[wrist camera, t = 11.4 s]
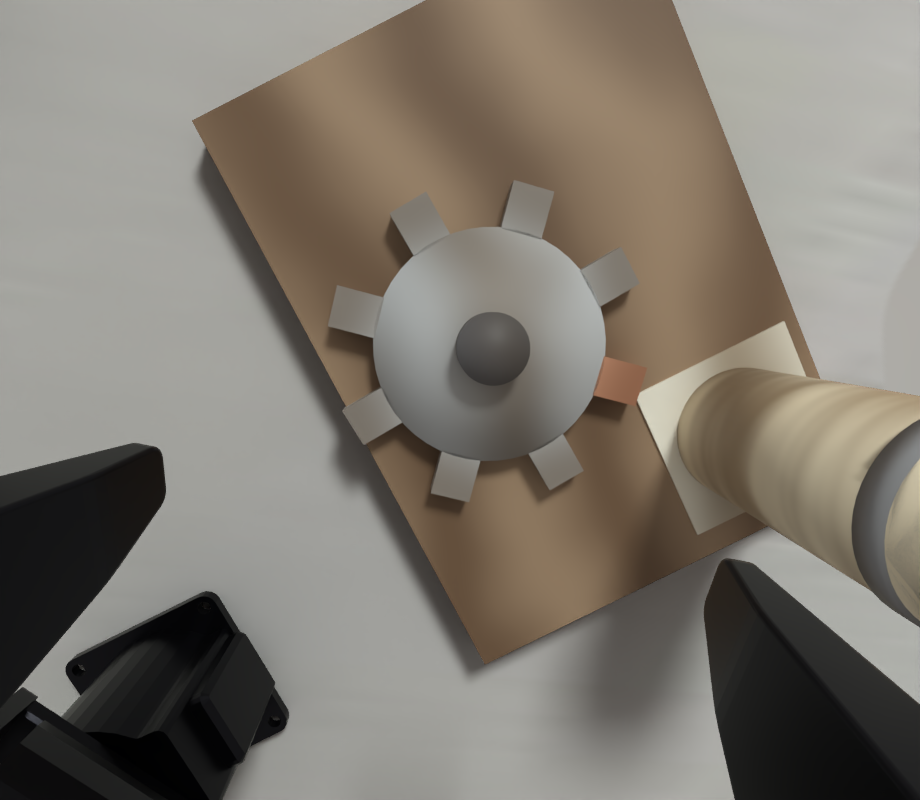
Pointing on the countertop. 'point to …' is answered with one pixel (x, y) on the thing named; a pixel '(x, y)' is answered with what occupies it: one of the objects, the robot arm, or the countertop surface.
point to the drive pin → (817, 469)
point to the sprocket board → (518, 285)
